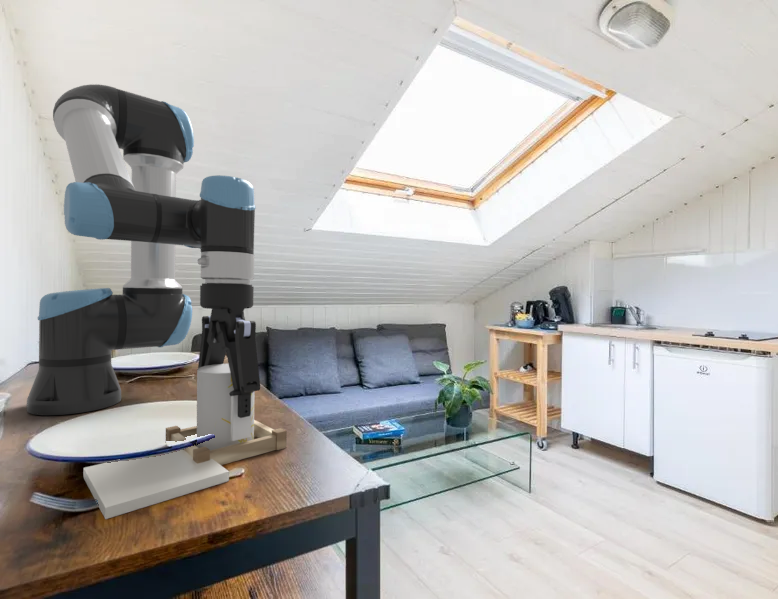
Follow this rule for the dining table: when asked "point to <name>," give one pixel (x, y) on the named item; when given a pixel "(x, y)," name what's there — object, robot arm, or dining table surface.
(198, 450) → the square wooden frame
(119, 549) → the dining table surface
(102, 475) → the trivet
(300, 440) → the dining table surface
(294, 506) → the dining table surface
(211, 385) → the cup
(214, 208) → the robot arm
